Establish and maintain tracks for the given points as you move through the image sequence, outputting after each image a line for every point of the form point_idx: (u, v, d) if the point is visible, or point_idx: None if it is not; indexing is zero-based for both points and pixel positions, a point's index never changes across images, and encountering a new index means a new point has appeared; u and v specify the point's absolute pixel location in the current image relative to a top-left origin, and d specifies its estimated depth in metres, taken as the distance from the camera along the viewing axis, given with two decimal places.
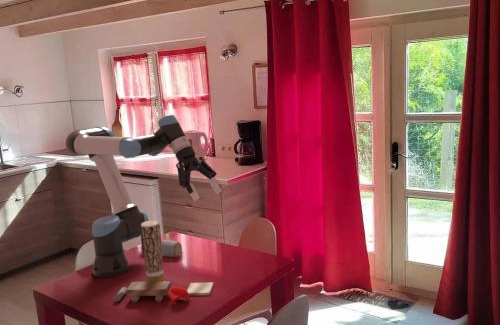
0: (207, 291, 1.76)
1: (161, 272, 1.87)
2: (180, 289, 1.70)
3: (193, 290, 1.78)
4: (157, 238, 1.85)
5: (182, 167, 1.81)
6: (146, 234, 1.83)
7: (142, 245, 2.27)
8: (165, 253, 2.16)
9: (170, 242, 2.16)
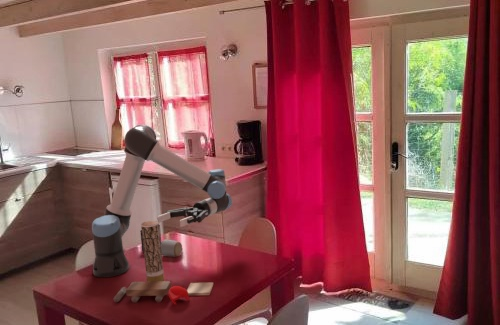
0: (207, 291, 1.76)
1: (161, 272, 1.87)
2: (180, 289, 1.70)
3: (193, 290, 1.78)
4: (157, 238, 1.85)
5: None
6: (146, 234, 1.83)
7: (142, 245, 2.27)
8: (165, 253, 2.16)
9: (170, 242, 2.17)
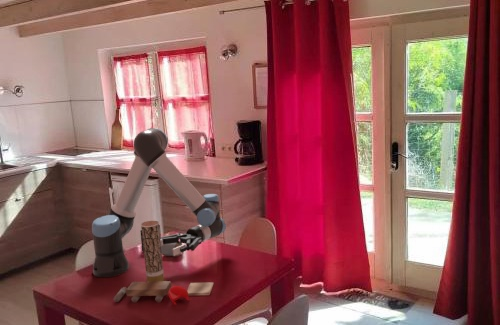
0: (207, 291, 1.76)
1: (161, 272, 1.87)
2: (180, 289, 1.70)
3: (193, 290, 1.78)
4: (157, 238, 1.85)
5: None
6: (146, 234, 1.83)
7: (142, 245, 2.27)
8: (166, 252, 2.16)
9: None
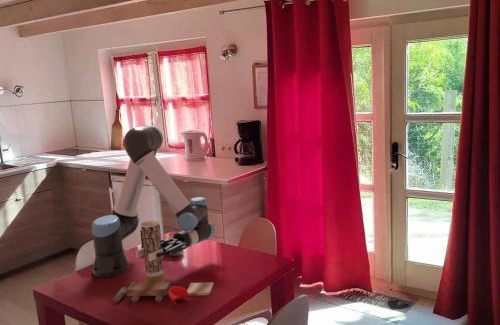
0: (207, 291, 1.76)
1: (161, 272, 1.87)
2: (180, 289, 1.70)
3: (193, 290, 1.78)
4: (157, 238, 1.85)
5: None
6: (146, 234, 1.83)
7: (142, 245, 2.27)
8: None
9: None
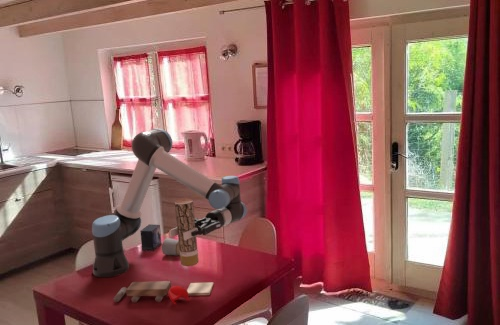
0: (207, 291, 1.76)
1: (196, 252, 1.79)
2: (180, 289, 1.70)
3: (193, 290, 1.78)
4: (192, 216, 1.76)
5: None
6: (180, 212, 1.74)
7: (142, 245, 2.27)
8: (167, 251, 2.17)
9: (172, 241, 2.18)
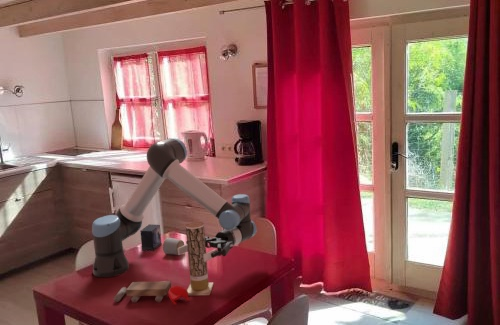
0: (207, 291, 1.76)
1: (206, 276, 1.78)
2: (180, 289, 1.70)
3: (193, 290, 1.78)
4: (203, 240, 1.75)
5: None
6: (191, 236, 1.73)
7: (142, 245, 2.27)
8: (168, 251, 2.18)
9: (173, 240, 2.19)
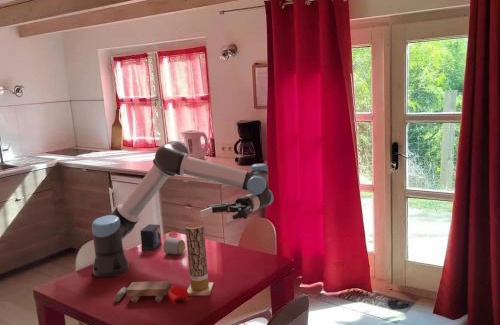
0: (207, 291, 1.76)
1: (206, 276, 1.78)
2: (180, 289, 1.70)
3: (193, 290, 1.78)
4: (202, 240, 1.75)
5: None
6: (191, 236, 1.73)
7: (142, 245, 2.27)
8: (169, 250, 2.19)
9: (174, 240, 2.19)
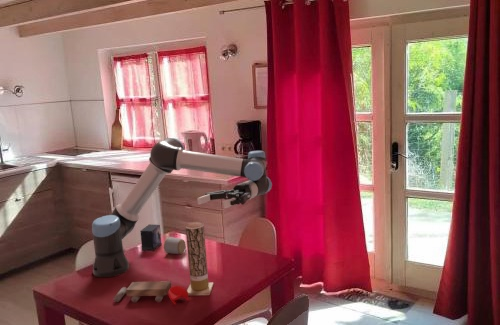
0: (207, 291, 1.76)
1: (206, 276, 1.78)
2: (180, 289, 1.70)
3: (193, 290, 1.78)
4: (202, 240, 1.75)
5: None
6: (191, 236, 1.73)
7: (142, 245, 2.27)
8: (169, 250, 2.19)
9: (174, 239, 2.20)
